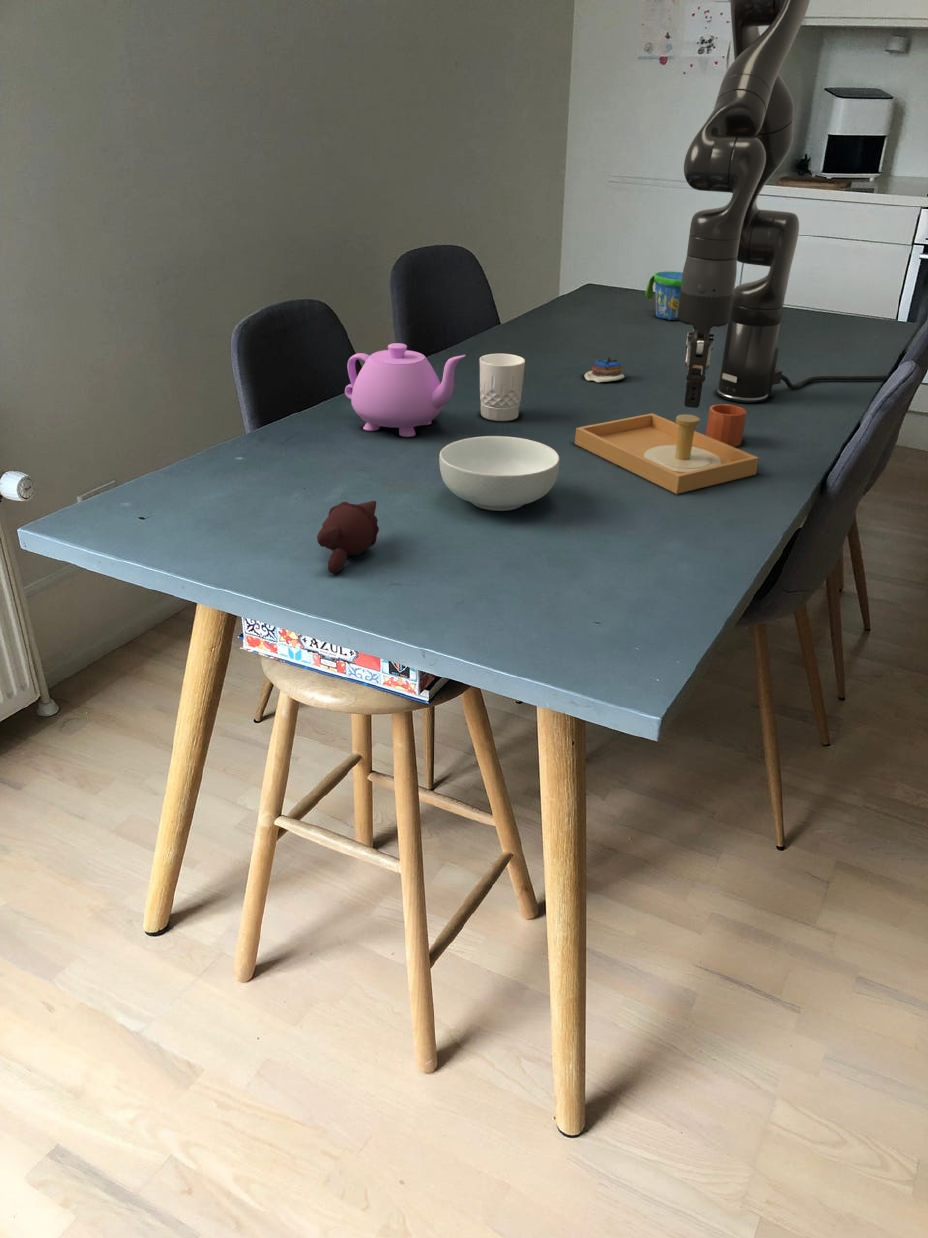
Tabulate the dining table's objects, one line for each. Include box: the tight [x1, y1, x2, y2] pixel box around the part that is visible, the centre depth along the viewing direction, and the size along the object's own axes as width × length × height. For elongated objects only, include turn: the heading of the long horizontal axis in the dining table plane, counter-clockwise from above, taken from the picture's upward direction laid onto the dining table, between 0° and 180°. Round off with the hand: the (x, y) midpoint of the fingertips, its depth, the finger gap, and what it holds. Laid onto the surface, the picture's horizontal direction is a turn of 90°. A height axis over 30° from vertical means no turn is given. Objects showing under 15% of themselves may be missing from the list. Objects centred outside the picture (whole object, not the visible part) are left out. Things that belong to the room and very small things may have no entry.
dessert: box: [584, 357, 626, 383], centre depth 200 cm, size 8×7×6 cm
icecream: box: [316, 500, 380, 574], centre depth 127 cm, size 7×7×15 cm
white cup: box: [479, 353, 526, 422], centre depth 176 cm, size 8×8×10 cm
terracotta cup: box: [705, 403, 747, 448], centre depth 168 cm, size 6×6×6 cm
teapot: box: [344, 342, 466, 438], centre depth 168 cm, size 22×16×14 cm
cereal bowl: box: [438, 435, 561, 512], centre depth 143 cm, size 17×17×7 cm
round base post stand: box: [644, 413, 721, 474], centre depth 156 cm, size 12×12×7 cm
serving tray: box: [574, 412, 759, 495], centre depth 161 cm, size 17×25×3 cm
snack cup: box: [645, 270, 683, 321], centre depth 246 cm, size 16×10×10 cm
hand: (692, 398), depth 153 cm, fingers open, 8 cm apart
